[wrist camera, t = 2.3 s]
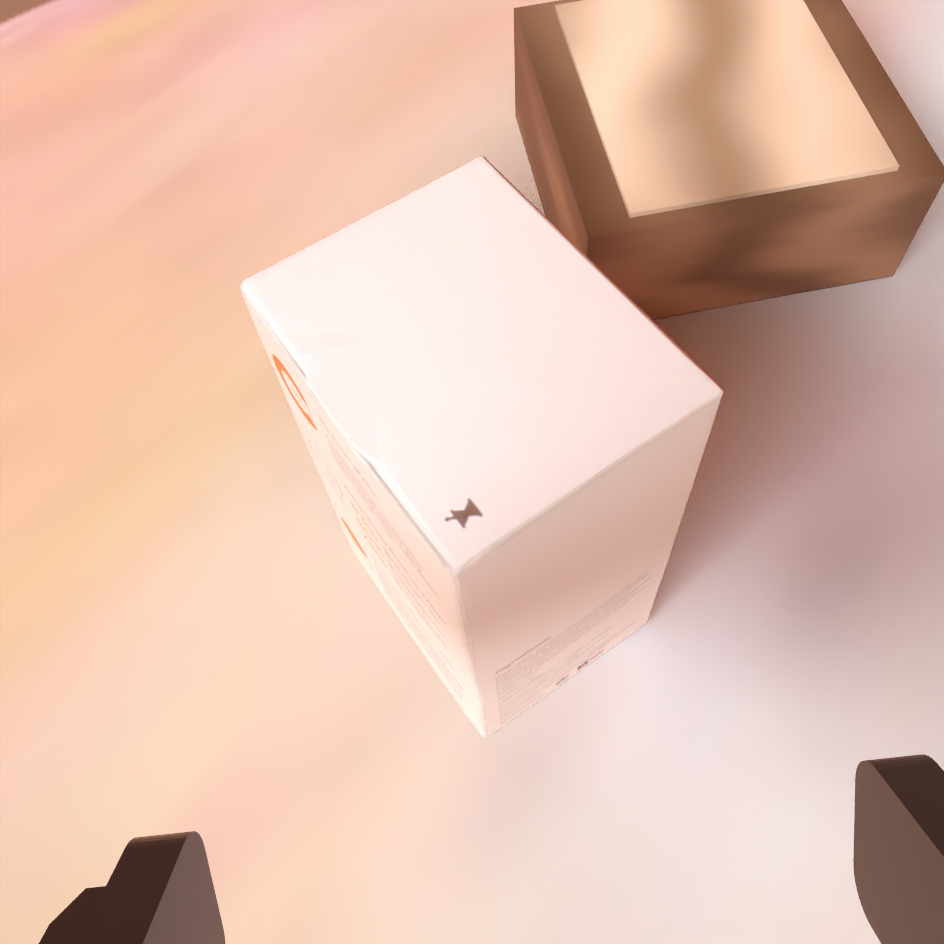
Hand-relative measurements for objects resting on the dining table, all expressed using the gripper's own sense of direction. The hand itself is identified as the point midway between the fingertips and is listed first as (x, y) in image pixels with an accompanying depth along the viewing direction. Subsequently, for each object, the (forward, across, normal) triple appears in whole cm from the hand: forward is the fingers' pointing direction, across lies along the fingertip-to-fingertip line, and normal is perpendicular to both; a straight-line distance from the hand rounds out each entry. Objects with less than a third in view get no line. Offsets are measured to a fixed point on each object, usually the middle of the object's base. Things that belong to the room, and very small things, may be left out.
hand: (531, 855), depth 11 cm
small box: (+17, 0, +4) cm, 18 cm away
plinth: (+28, -10, -7) cm, 31 cm away
